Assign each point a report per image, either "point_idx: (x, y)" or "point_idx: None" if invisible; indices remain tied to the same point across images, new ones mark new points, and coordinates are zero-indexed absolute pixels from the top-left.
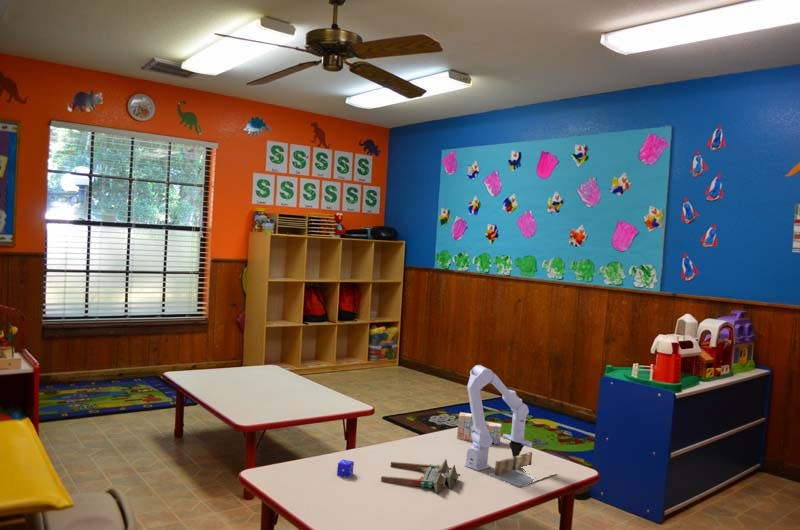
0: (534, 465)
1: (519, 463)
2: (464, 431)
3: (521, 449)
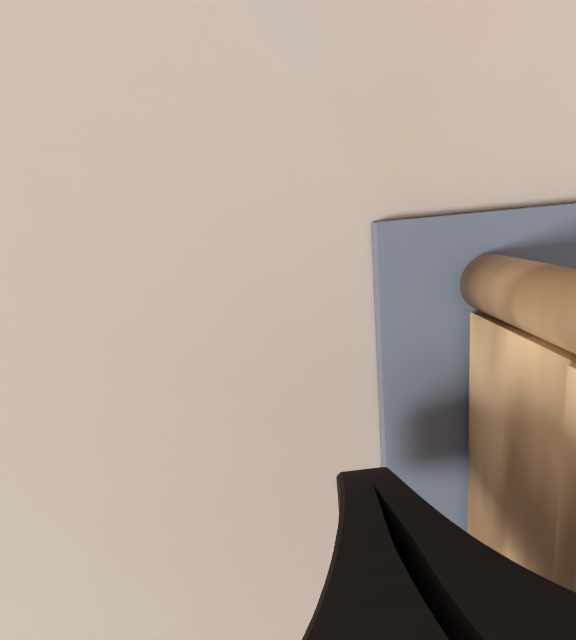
0: (502, 174)
1: None
2: None
3: (529, 581)
